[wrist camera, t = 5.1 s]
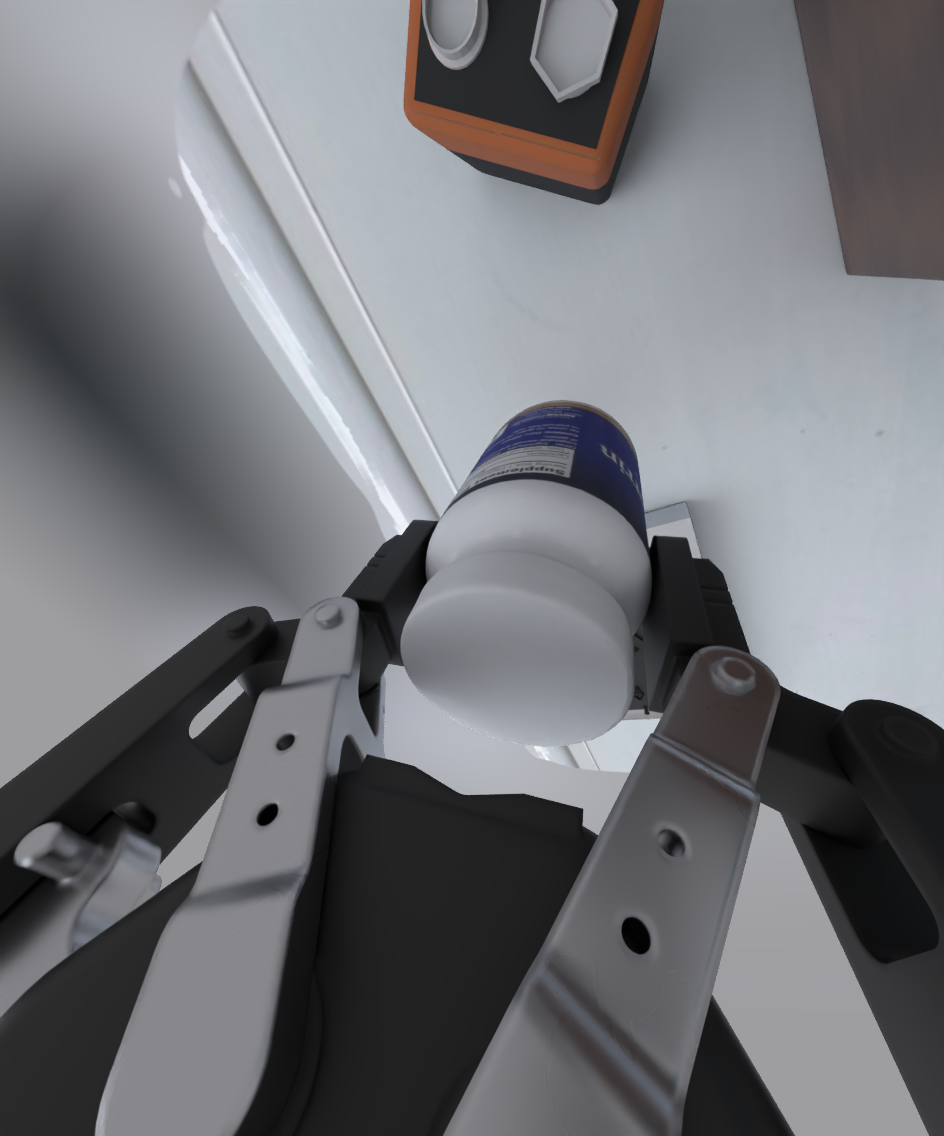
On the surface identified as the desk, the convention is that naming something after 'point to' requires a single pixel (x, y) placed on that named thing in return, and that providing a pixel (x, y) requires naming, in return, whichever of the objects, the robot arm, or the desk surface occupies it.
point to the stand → (881, 128)
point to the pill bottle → (537, 583)
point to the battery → (532, 85)
